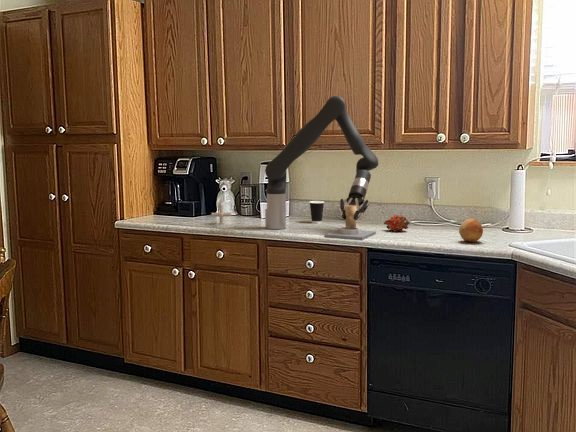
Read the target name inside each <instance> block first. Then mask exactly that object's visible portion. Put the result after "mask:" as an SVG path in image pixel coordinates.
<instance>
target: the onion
mask: <svg viewBox="0 0 576 432" xmlns="http://www.w3.org/2000/svg"><path fill="white" fill-rule="evenodd" d="M458 229H459V230H458V233H459V235H460V237H461V239H462V240H463V241H465V242H469V243H475V242H478V241H479V240H480V239H481V238H482V237H483V234H484V233H483V232H484V229H483V226H482V224H481V222H480V221H479V220H477V219H475V218H472V217H471V218H467V219H465V220H464V221H462V222H461V224H460V225H459V228H458Z"/></svg>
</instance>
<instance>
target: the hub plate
mask: <svg viewBox="0 0 576 432" xmlns="http://www.w3.org/2000/svg"><path fill="white" fill-rule="evenodd" d="M374 235H377V231H375V230H374V231H373V230H362V228H360V227H357V226H356V227H355V228H347V227H346V226H345V227H341V228H338V229H336V230H333V231H331V232H327V233H325V234H324V238H332V239H342V240H343V239H345V240H358V241H364V240H365V239H366V240H367V239H368V238H370V237H372V236H374Z"/></svg>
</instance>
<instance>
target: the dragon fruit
mask: <svg viewBox="0 0 576 432" xmlns="http://www.w3.org/2000/svg"><path fill="white" fill-rule="evenodd" d="M409 224H410V222H409V220H408V219H407V217H405V216H404V215H401V214H399V215H397V214H394V215H393V216H391V217H390V218H389V219H386V220H384V222H383V225H386V228H387V230H389V231H393V232H397V231H399V232H403V229H404V230H408V228H409V227H408V226H409Z"/></svg>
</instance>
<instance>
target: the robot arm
mask: <svg viewBox="0 0 576 432" xmlns="http://www.w3.org/2000/svg"><path fill="white" fill-rule="evenodd" d="M334 121H336V123H337V124H338V125H339V127H340V130H341V131H342V133H343V136H344V138H345V141H346V142H347V144H348V146H349V147H350V150H351V151H352V153H353V154H354V155H356V156H358V155H359V156H360V155H361V156H362V157H361V158H359V159H358V160H357V162H356V164H355V165H356V169H355V171H356V172H355V173H356V174H355V177H354V179H353V182H352V183H351V187H350V190H349V192H348V196H347V197H346V199H343V198H341V199H340V200H339V201H340V203H339V204H340V205H339V208H340V210H341V212H342V214H341V217H342V219H343V220H346V205H349V204H356V212H355V214H354V220H356V221H357V220H358V219H359V216H360V214H361V213H362V214H364V213H365V212H366V210H367V209H368V207H369V206H370V201H369V200H368V199H365V198H366V195H367V192H368V189H369V183H370V182H371V178H372V174H371V172H370V171H372V170H374V169H377V167H378V166H379V158H378V156H377V155H376V154H375V152H374V151H372V149H370V148H369V147H368V146H367V145H366V143H365V140H364V139H363V137H362V135H361V134H360V132H359V130H358V129H357V127H356V126H355V124H354V122H353V121H352V118H351V117H350V114H349V112H348V110H347V106H346V101H345V99H344V98H343V97H341V96H340V95H333V96H330V97H329V98H328V99H327V101H326V102H325V104H324V105H323V106H322V108H321V109H320V110H319V111H318V113H317V114H316V115H315V116H314V117H313V118H312V119H310V120H309V121H308V122H307V123H306V124H305V125H303V126H302V127H300V129H299V130H298V131H297V132H296V134H294V135H293V136H292V139H290V141H289V142H288V143H287V145H286V146H285V147H284V148H283V149H282V151H280V153H279V154H277V156H276V157H274V158H273V159H272V160H271V161H269V162H268V163H266V166H265V170H264V171H265V175H266V177H267V187H266V208H265V210H264V213H265V219H264V221H265V222H264V223H265V229H269V230H284V229H286V227H287V221H286V220H287V219H286V217H287V216H286V215H287V210H286V209H287V208H286V206H287V205H286V199H287V198H286V197H287V196H286V195H287V194H286V190H287V169H289V167H290V166H291V165H292V164H293V163H294V162H295V161H296V160H297V159H298V158H299V157H301V156H302V155H303V154H305V153H306V152H307V151H308V150H309V149H310V148H312V146H313V145H314V144H315V142H317V140H318V139H319V138H320V137H321V135H322V134H323V133H324V132H325V130H326V128H328V127H329V126H330V125H331V123H332V122H334Z"/></svg>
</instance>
